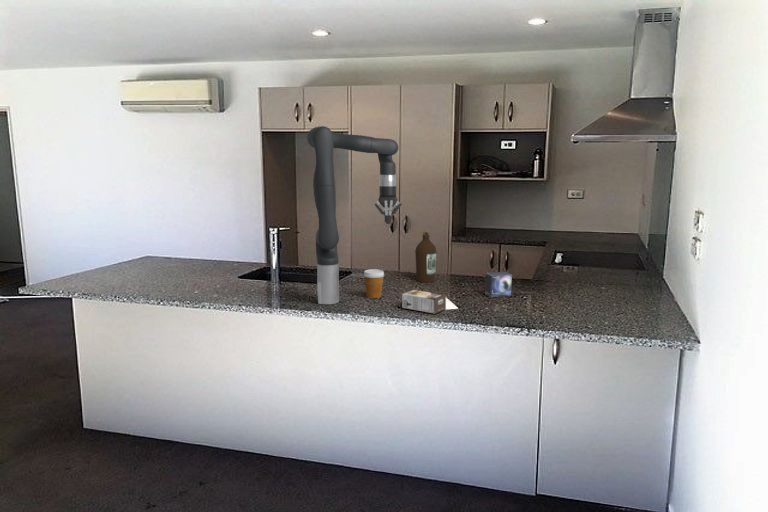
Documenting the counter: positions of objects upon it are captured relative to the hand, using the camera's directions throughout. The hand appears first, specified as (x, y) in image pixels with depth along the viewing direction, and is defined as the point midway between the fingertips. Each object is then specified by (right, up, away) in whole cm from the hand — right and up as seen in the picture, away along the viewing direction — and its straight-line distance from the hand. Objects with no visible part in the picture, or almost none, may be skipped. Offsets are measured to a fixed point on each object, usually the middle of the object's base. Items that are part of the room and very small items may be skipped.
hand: (387, 223), depth 262 cm
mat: (+20, -35, -11) cm, 42 cm away
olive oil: (+19, -27, +34) cm, 48 cm away
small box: (+50, -33, +4) cm, 60 cm away
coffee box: (+8, -33, -15) cm, 37 cm away
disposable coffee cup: (-6, -33, +2) cm, 34 cm away
